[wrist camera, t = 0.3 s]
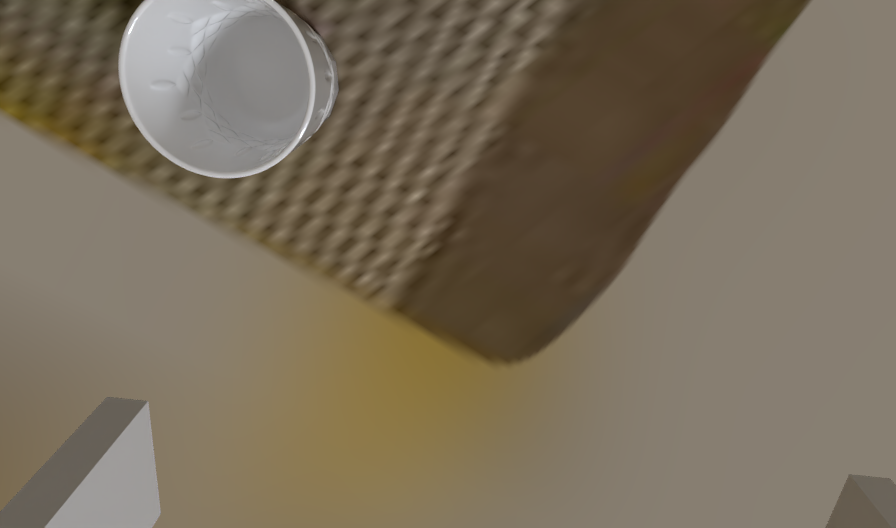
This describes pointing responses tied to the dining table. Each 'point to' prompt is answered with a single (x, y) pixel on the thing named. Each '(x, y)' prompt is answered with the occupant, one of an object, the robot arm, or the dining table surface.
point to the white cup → (225, 82)
